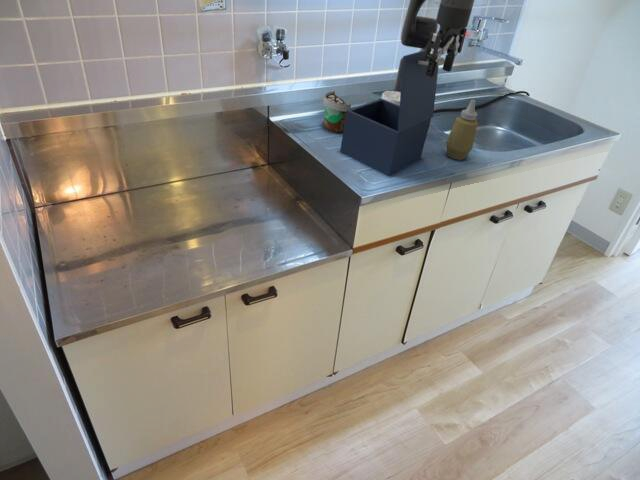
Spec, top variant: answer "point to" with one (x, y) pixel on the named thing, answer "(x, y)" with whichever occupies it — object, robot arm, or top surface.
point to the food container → (334, 112)
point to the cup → (392, 97)
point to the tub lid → (416, 91)
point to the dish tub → (382, 137)
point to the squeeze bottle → (462, 133)
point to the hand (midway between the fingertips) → (438, 73)
